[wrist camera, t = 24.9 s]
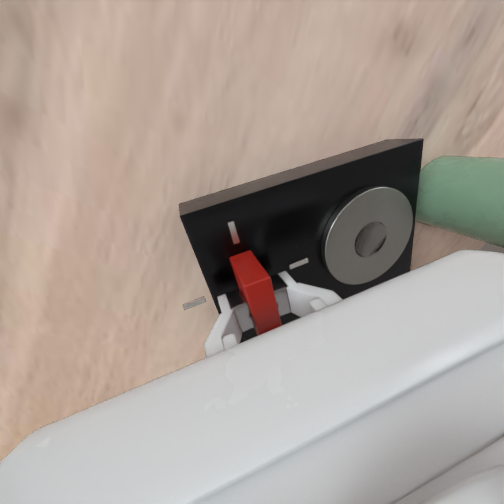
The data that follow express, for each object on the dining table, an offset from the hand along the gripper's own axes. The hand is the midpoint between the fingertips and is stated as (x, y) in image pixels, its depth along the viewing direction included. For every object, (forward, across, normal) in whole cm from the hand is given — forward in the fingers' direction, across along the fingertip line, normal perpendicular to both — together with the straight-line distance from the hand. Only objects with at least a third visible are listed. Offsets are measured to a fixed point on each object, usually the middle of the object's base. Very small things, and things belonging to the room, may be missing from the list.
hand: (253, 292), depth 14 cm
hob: (+4, -6, 0) cm, 7 cm away
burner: (+1, -9, 0) cm, 9 cm away
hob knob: (+1, 0, 0) cm, 1 cm away
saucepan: (+4, -21, +1) cm, 21 cm away
